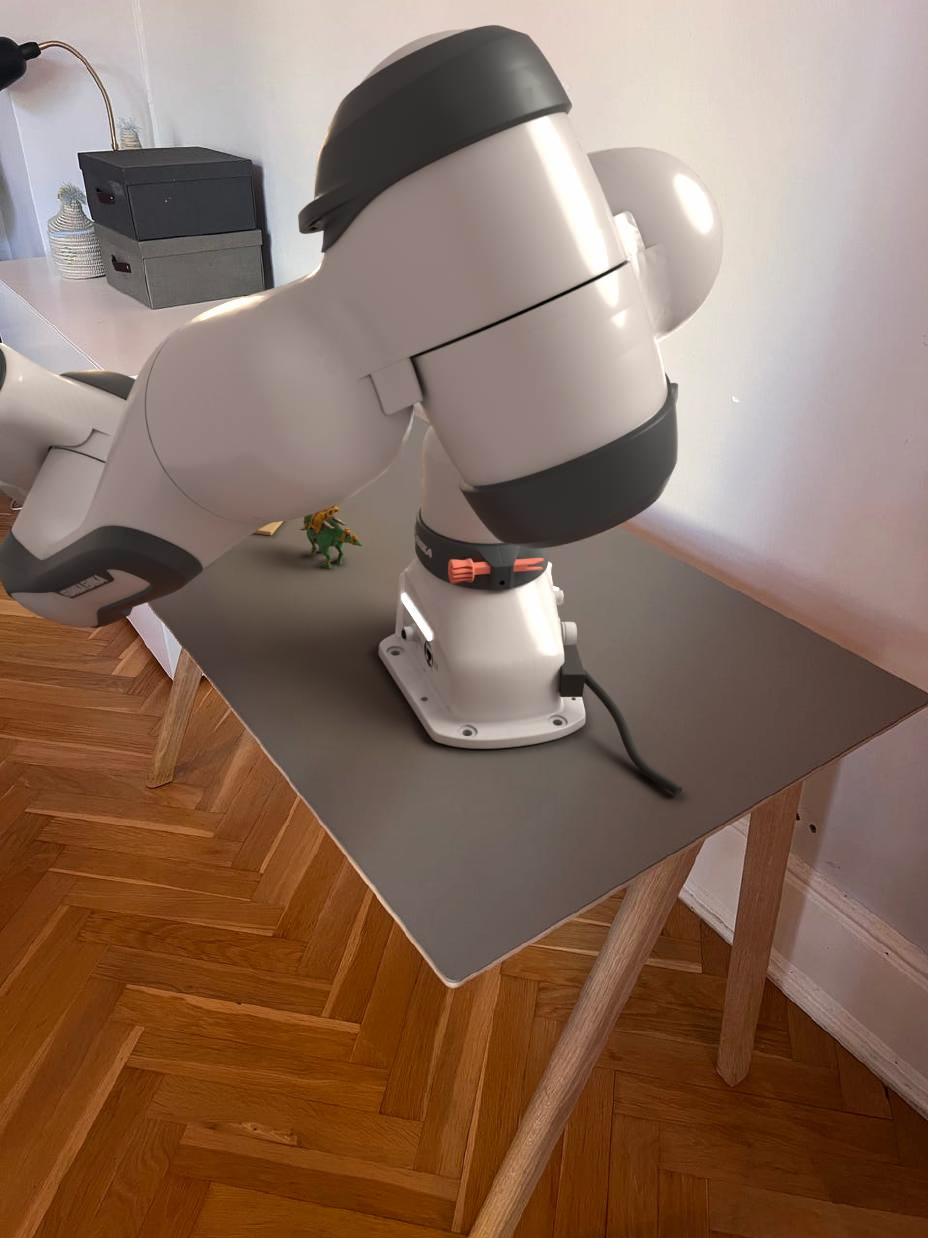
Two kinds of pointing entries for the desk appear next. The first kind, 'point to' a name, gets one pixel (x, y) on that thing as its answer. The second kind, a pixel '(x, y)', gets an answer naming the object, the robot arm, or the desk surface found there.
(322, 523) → the figurine
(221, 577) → the desk surface
